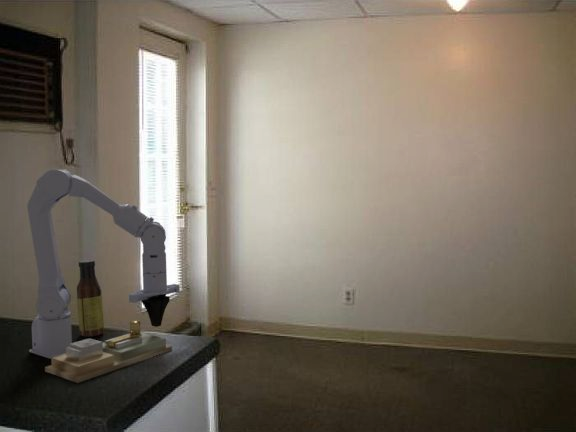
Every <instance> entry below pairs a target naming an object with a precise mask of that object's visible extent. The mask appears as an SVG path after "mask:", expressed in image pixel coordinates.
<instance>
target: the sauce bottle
mask: <svg viewBox="0 0 576 432" xmlns="http://www.w3.org/2000/svg"><path fill="white" fill-rule="evenodd" d="M78 267H79V273H80V274H79V277H80V279H79V282H78V284H77V286H76V301H77V314H78V315H77V316H78V328H79V331H80V333H79V334H80V336H82V337H85V338H87V337H88V338H91V337H92V338H93V337H97V336H100V335H102V334H104V328H105V327H104V326H105V324H104V323H105V322H104V307H103V295H102V289H101V287H100V284H99V282H98V279H97V277H96V270H95V267H96V262H95V260H94V259H84V260H83V259H82V260H80V261H78Z"/></svg>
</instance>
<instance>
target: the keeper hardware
mask: <svg viewBox="0 0 576 432" xmlns="http://www.w3.org/2000/svg"><path fill="white" fill-rule="evenodd" d="M129 334H130V333H126V334H123V335H120V336H116V337H112V338H109V339H107V340H104V341H100V340H98V339H97V340H96V339H93V338H91V337H88V338H85V339H82V340H79V341H74V342H72V343H71V344H70V347H66V357H67V358H70V359H73V360H76V361H79V362H80V361H83V360H86V359H89V358H92V357H96V356H99V355H102V354H103V342H105V346H107V347H108V346H109V344H108V340H112V339H115V338H119V337H122V336H125V335H129ZM140 342H142V337H141V336H138V337H135V338H132V339H128V340H125V341H122V342H118V343H115V349H121V348H124V347H127V346H130V345H134V344H137V343H140Z"/></svg>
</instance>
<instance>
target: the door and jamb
mask: <svg viewBox="0 0 576 432" xmlns="http://www.w3.org/2000/svg"><path fill="white" fill-rule="evenodd" d="M141 334H142V342H140V343H137V344H134V345H130V346H127V347H124V348H121V349H115V347H112V346H108V347H107V346H105V341H102V342H103V354H102V355H99V356H96V357H92V358H89V359H86V360H83V361H80V362H79V361H76V360H73V359H70V358H67V357H66V353H65V354H62V355H59V356H55V357H52V358H51V365H47V366H44V372H45V373H48V374H52V375H55V376H57V377H59V378H63V379H65V380H68V381H71V382H74V383H77V384H79V383H81V382H82V383H83V382H85V381H87V380H90V379H93V378H96V377H99V376H102V375H105V374H108V373H110V372H113V371H117V370H119V369H122V368H125V367H128V366H131V365H134V364H136V363H139V362H142V361H145V360H148V359H151V358H154V357H156V355H157V356H160V355H162V353H163V354H165V352H166V353H168V352H171V351H173V346H172V345H168V344H167V341H166V339H167V338H165V337H161V336H158V335H153V334H149V333H145V332H141ZM159 354H160V355H159ZM153 356H154V357H153Z"/></svg>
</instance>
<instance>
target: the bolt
mask: <svg viewBox="0 0 576 432" xmlns="http://www.w3.org/2000/svg"><path fill="white" fill-rule="evenodd" d="M141 330H142V329H141V320H137V319H135V320H131V321H129V331H130V332H129V333H128V334H129V335H126V334H124V335H125V336H123V335H121V336H122V337H119V336H118V337H119V338H116V337H114V338H115V339H112V338H111V339H112V340H109V339H107V340H108V344H109V346H112V347H115V343H118V342H122V341H125V340H128V339H132V338H135V337H138V336H141V337H142V334H141V333H142V332H141Z"/></svg>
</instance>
